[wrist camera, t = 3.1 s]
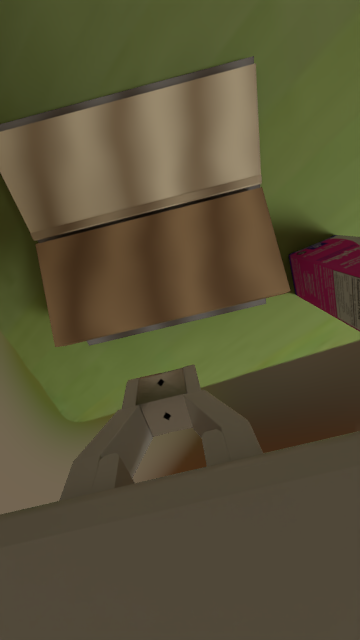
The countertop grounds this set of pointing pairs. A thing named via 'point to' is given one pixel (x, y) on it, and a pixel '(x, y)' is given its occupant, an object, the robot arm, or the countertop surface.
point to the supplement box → (330, 277)
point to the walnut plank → (161, 268)
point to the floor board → (136, 157)
